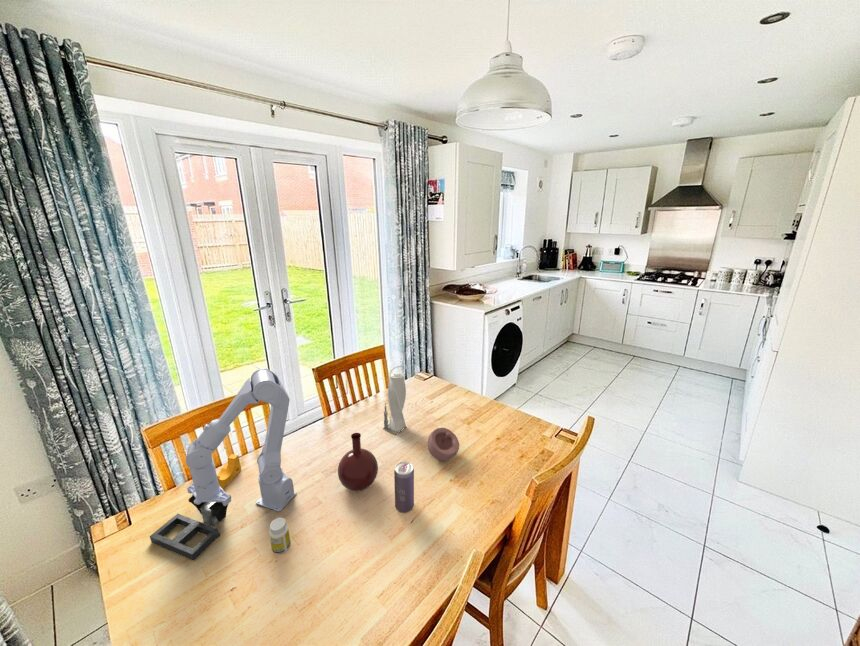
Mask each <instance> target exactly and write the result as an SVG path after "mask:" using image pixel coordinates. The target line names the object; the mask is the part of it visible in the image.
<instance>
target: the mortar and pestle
mask: <svg viewBox="0 0 860 646" xmlns="http://www.w3.org/2000/svg"><path fill="white" fill-rule="evenodd" d="M426 445H427V449H428V452H429V454H430V455H431V457H433V458H434V459H435V460H437V461H440V462H447V461H450V460H452V459H454V457H456V456H457V455H458V452H459V450H460V441H459V438H458V437H457V435H456V434H455V433H454V432H453V431H452V430H450V429H448V428H447V427H437V428H435V429H433V431H431V433H430V434H429V436H428V438H427V444H426Z"/></svg>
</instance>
